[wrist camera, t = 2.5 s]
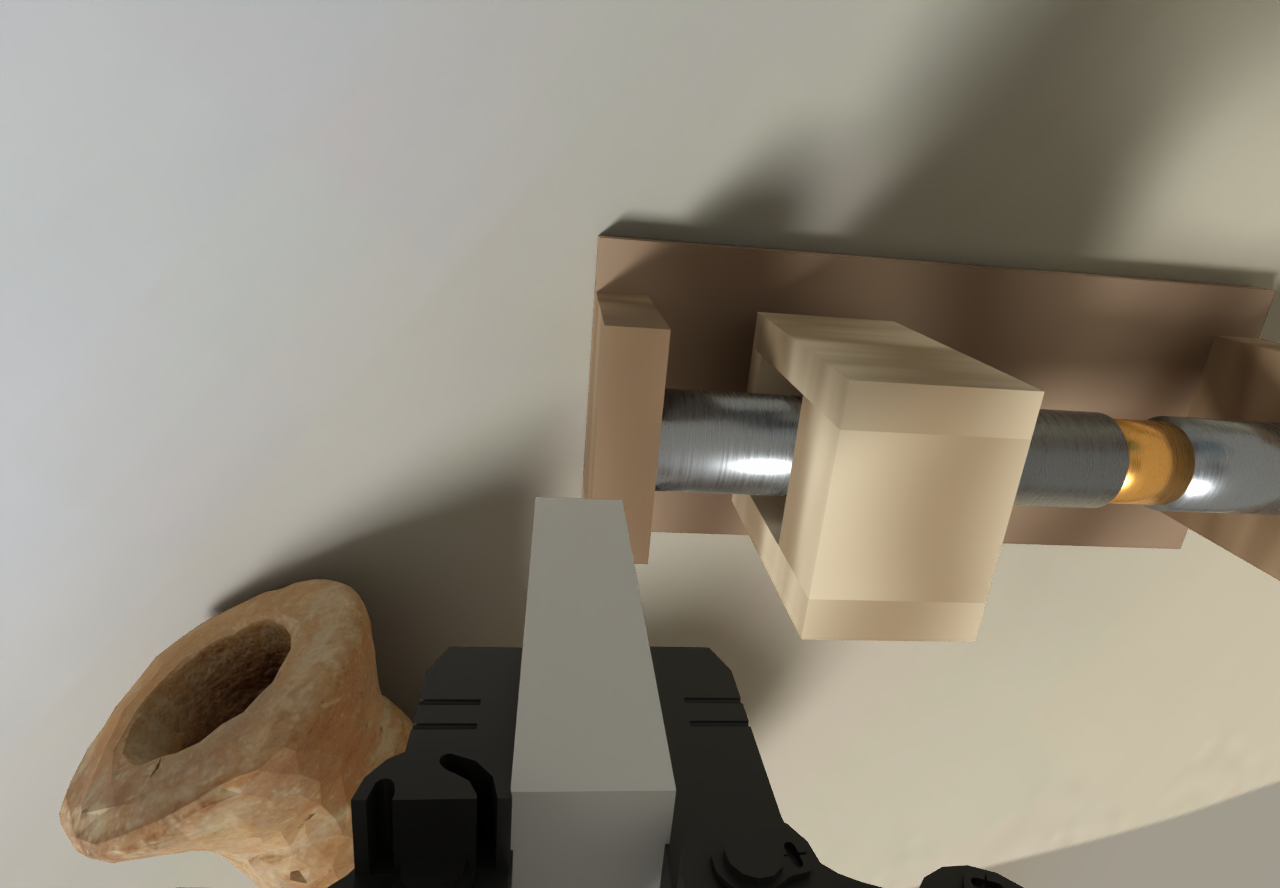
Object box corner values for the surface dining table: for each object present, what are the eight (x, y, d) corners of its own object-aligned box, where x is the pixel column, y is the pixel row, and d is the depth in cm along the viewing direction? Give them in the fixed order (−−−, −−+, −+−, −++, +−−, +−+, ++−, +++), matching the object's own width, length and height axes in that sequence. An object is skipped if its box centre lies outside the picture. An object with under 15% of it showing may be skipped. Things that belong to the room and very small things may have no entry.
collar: (731, 500, 23) (801, 639, 16) (757, 311, 21) (849, 379, 14) (856, 505, 23) (975, 642, 17) (893, 321, 21) (1044, 391, 15)
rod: (644, 467, 20) (654, 508, 18) (652, 376, 20) (665, 405, 17) (1233, 493, 23) (1314, 532, 20) (1265, 411, 22) (1353, 441, 19)
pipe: (361, 513, 24) (229, 736, 14) (629, 822, 29) (660, 1128, 20) (141, 652, 25) (-116, 946, 15) (441, 926, 30) (386, 1263, 21)
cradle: (580, 518, 24) (584, 613, 19) (598, 234, 21) (609, 256, 16) (1163, 538, 27) (1307, 627, 22) (1253, 286, 24) (1446, 320, 19)
